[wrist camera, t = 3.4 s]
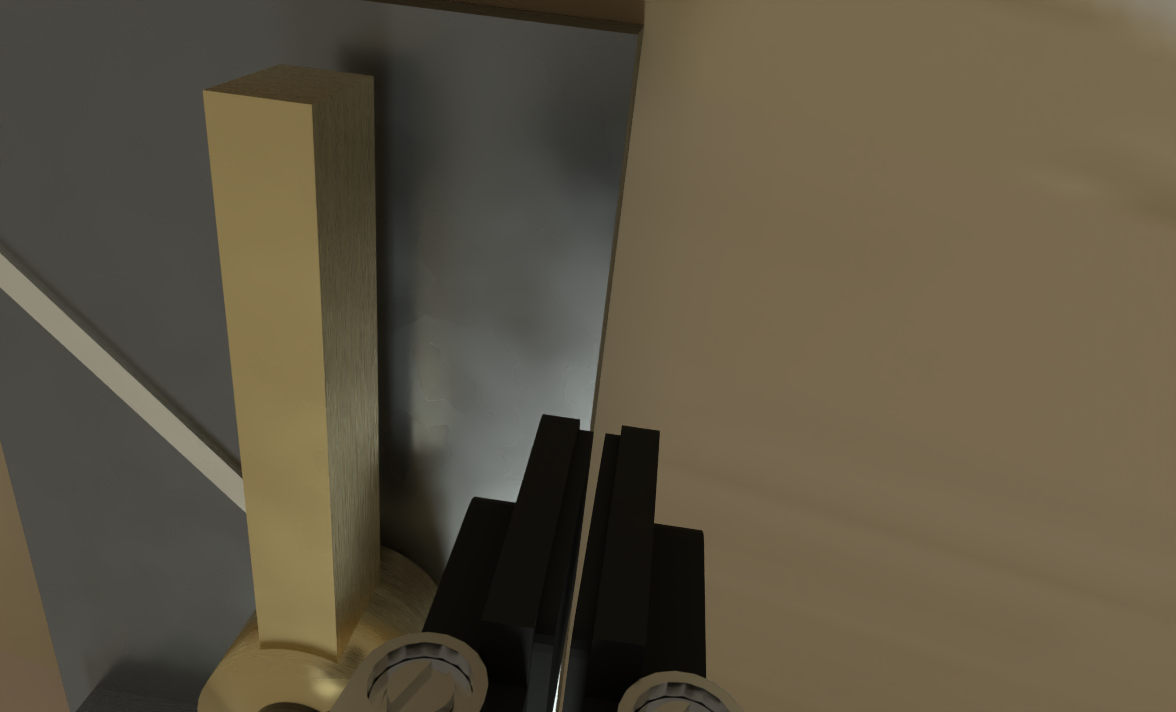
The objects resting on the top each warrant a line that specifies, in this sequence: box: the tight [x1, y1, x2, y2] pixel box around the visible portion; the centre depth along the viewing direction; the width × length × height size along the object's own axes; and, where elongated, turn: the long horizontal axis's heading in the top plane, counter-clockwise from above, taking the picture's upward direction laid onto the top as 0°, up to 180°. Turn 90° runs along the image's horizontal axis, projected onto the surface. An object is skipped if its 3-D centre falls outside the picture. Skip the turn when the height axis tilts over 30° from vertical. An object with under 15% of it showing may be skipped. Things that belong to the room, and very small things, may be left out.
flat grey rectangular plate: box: [0, 0, 644, 712], centre depth 20 cm, size 14×23×4 cm, turn 174°
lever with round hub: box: [197, 64, 438, 712], centre depth 17 cm, size 4×15×4 cm, turn 174°
